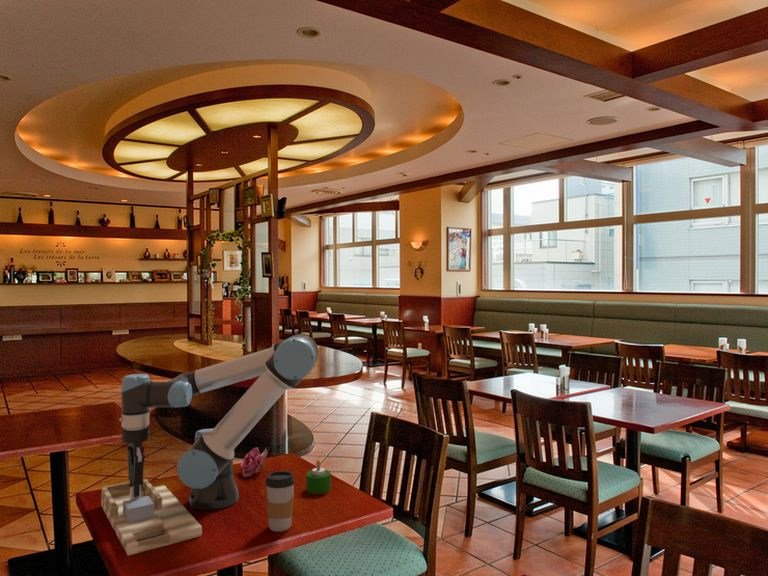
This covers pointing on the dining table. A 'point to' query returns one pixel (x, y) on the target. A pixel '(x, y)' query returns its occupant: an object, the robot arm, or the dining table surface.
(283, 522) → the coffee cup
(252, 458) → the flower
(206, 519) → the dining table surface
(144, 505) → the slate block
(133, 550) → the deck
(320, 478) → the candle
